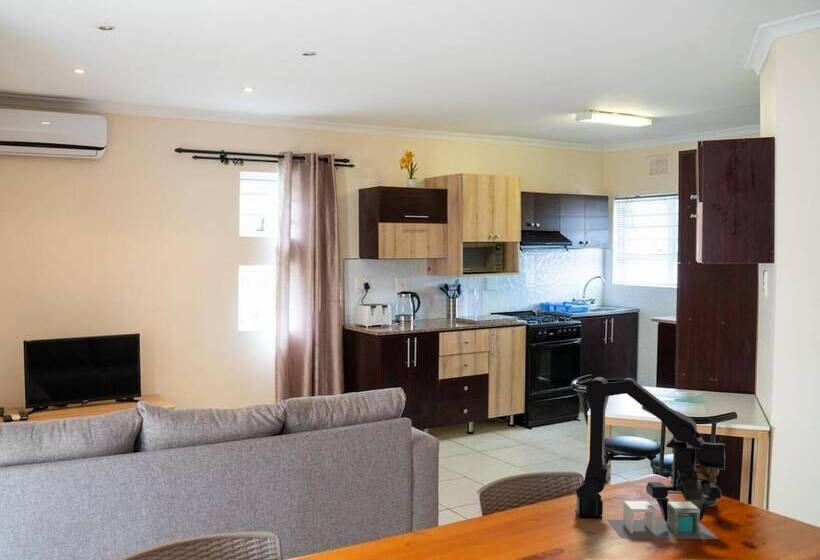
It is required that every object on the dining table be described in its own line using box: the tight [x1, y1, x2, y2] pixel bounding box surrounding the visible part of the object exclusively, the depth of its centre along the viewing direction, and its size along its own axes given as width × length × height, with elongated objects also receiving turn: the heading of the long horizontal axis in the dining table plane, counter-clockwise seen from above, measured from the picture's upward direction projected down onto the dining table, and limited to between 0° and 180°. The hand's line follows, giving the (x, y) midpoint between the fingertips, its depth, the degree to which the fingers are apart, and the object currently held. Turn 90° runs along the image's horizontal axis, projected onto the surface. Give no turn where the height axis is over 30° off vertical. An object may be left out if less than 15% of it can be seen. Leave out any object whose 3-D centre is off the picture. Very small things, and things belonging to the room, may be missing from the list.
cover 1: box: [622, 500, 657, 533], centre depth 206 cm, size 7×7×6 cm
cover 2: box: [666, 501, 701, 534], centre depth 207 cm, size 7×7×6 cm
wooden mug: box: [684, 463, 718, 508], centre depth 228 cm, size 9×14×18 cm, turn 10°
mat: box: [606, 519, 719, 540], centre depth 207 cm, size 26×14×1 cm, turn 91°
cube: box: [678, 512, 693, 532], centre depth 207 cm, size 4×4×4 cm
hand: (682, 521), depth 207 cm, fingers open, 9 cm apart
